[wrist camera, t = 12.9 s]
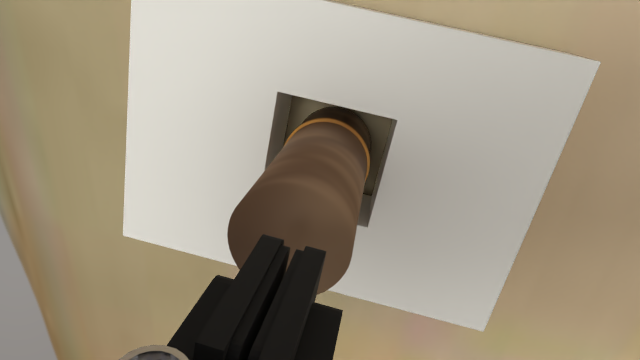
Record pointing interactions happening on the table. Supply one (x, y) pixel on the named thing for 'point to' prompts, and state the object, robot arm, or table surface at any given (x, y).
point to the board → (363, 95)
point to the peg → (309, 193)
